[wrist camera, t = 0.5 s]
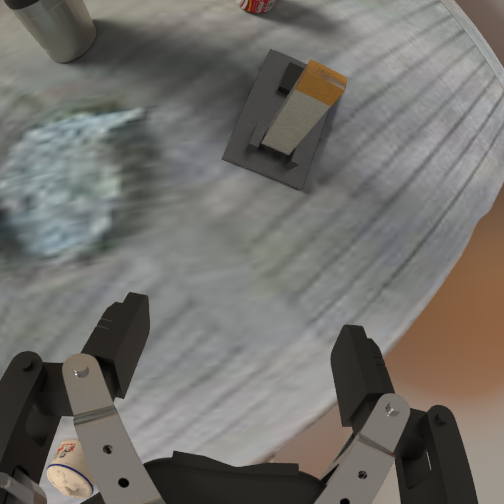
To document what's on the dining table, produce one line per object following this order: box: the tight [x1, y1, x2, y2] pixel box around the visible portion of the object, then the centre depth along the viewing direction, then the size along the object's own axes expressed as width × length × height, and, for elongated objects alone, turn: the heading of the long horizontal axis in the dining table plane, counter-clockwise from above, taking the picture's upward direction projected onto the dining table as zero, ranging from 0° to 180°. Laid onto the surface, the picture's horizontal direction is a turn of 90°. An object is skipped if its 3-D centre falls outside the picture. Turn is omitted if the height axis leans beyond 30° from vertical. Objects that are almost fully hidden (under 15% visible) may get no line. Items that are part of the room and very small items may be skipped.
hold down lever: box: [261, 60, 347, 155], centre depth 32 cm, size 2×4×16 cm, turn 70°
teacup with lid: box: [47, 439, 95, 498], centre depth 36 cm, size 12×9×12 cm
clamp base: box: [222, 49, 329, 190], centre depth 40 cm, size 20×12×6 cm, turn 160°
